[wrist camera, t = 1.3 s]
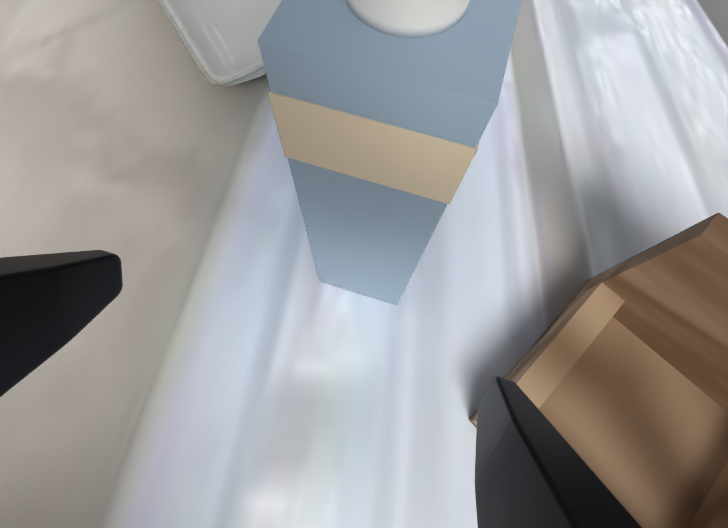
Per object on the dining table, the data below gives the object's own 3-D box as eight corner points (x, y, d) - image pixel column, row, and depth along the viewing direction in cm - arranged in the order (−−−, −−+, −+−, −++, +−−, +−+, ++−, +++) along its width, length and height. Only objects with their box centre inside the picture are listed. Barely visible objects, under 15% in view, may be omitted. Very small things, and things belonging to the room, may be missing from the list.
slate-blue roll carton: (396, 306, 22) (505, 94, 7) (318, 281, 22) (250, 27, 7) (417, 234, 24) (540, -63, 8) (344, 213, 24) (335, -110, 9)
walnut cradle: (664, 622, 17) (952, 831, 9) (468, 419, 20) (546, 434, 12) (776, 422, 20) (1062, 438, 12) (594, 274, 23) (723, 206, 15)
